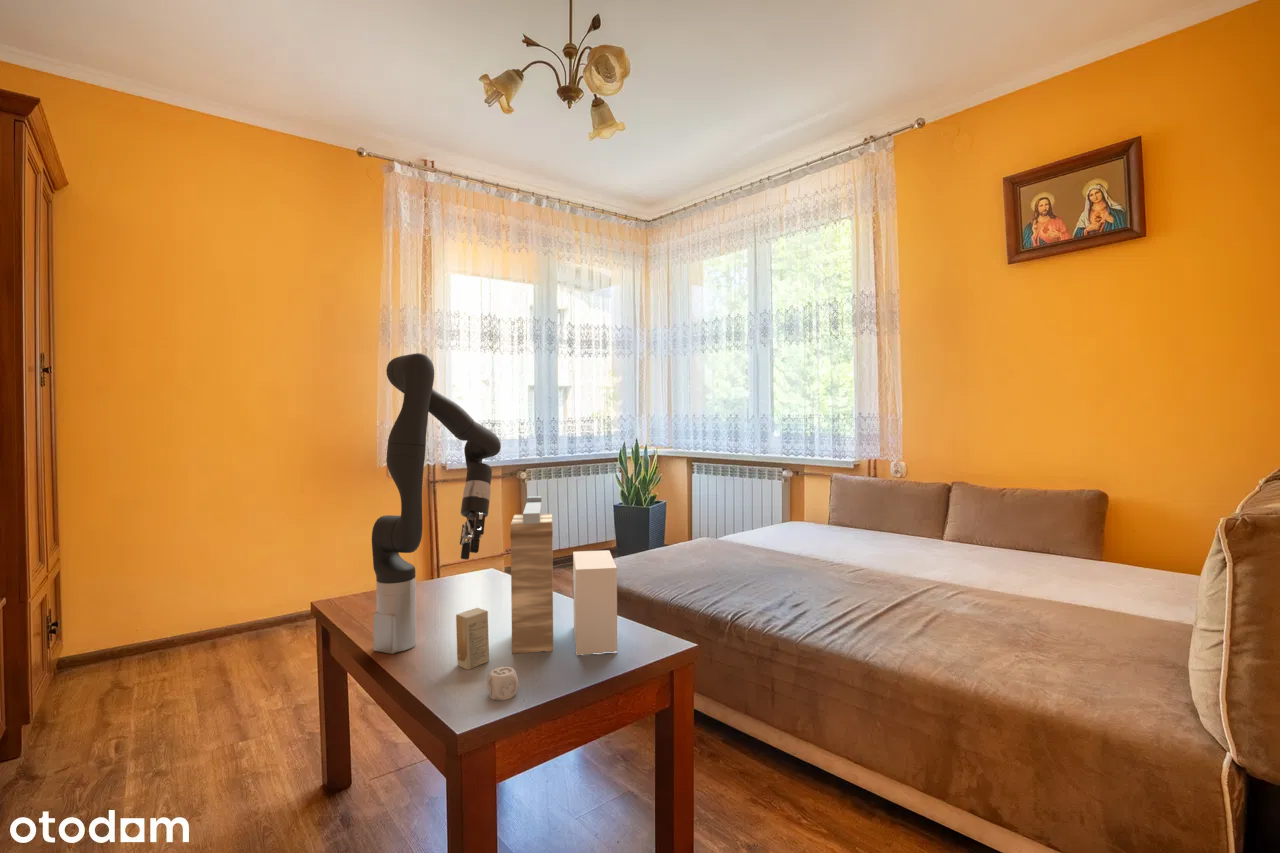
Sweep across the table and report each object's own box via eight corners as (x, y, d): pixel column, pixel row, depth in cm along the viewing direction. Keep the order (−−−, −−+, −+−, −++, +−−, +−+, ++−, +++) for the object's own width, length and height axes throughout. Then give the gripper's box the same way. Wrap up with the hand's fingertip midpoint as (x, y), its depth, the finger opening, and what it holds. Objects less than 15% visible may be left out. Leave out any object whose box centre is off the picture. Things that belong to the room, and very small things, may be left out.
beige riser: (617, 653, 146) (616, 567, 146) (576, 655, 144) (575, 569, 144) (609, 625, 165) (609, 550, 165) (573, 627, 164) (573, 551, 164)
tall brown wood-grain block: (553, 651, 147) (552, 522, 147) (511, 653, 146) (510, 523, 146) (553, 631, 161) (552, 513, 161) (515, 633, 160) (514, 514, 160)
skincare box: (478, 657, 144) (478, 606, 144) (489, 661, 141) (489, 610, 141) (455, 665, 139) (455, 613, 139) (466, 670, 136) (466, 617, 136)
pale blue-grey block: (539, 523, 146) (539, 508, 146) (523, 523, 145) (522, 508, 145) (541, 509, 169) (541, 496, 169) (527, 509, 169) (527, 496, 169)
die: (486, 694, 124) (486, 670, 124) (509, 687, 127) (509, 664, 127) (495, 703, 120) (495, 678, 120) (518, 696, 123) (518, 672, 123)
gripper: (456, 504, 173) (448, 559, 166) (470, 489, 162) (462, 548, 155) (481, 508, 176) (474, 562, 169) (497, 494, 165) (490, 552, 158)
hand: (469, 555), depth 162 cm, fingers open, 8 cm apart
